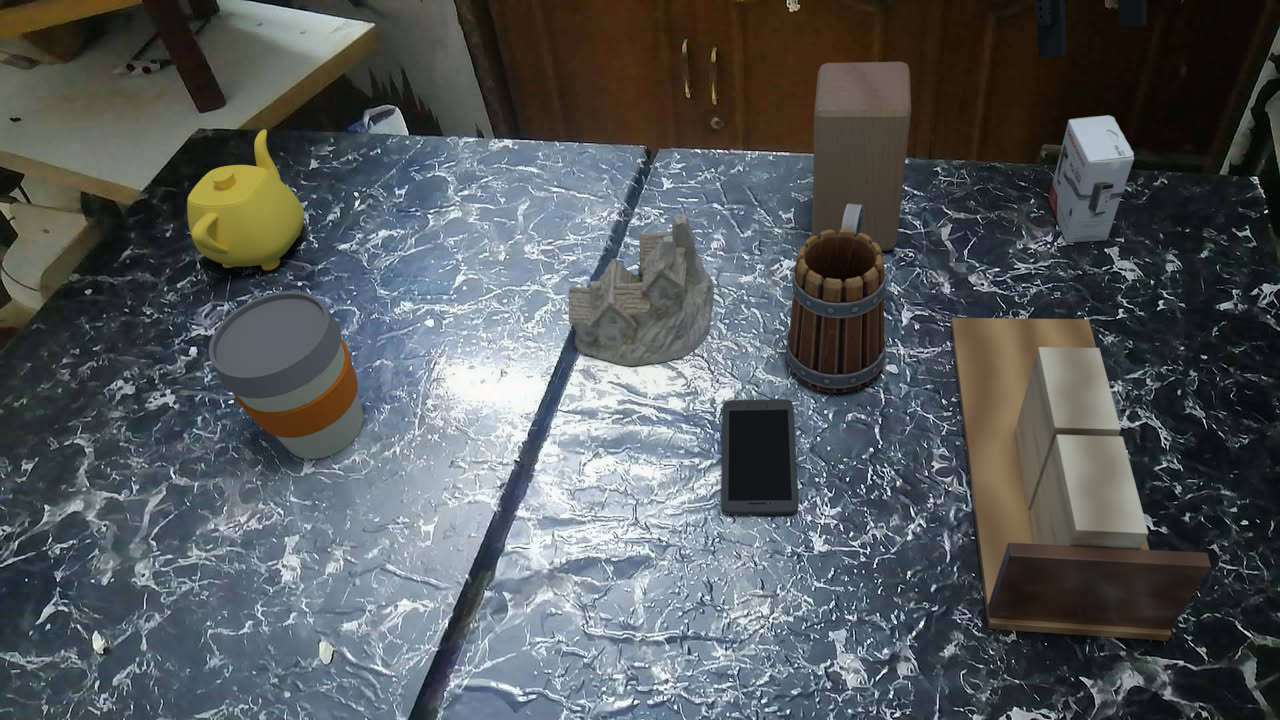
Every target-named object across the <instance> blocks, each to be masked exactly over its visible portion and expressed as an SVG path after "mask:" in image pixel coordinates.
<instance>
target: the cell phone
mask: <svg viewBox="0 0 1280 720" xmlns="http://www.w3.org/2000/svg"><path fill="white" fill-rule="evenodd" d="M721 420H722V422H721V423H722V425H721V427H722V429H721V490H720V491H721V497H720V499H721V510H722V512H723V513H724V514H725V515H726V514H727V515H732V516H733V515H734V516H736V515H737V516H739V515H740V516H741V515H742V516H748V515H757V516H758V515H760V516H761V515H792V514H795V513H797V512H798V509H799V484H798V468H797V467H798V465H797V448H796V447H797V446H796V445H797V444H796V428H795V427H796V426H795V409H794V404H793V401H792V400H791V399H786V398H785V399H784V398H778V399H777V398H773V399H772V398H771V399H769V398H768V399H733V400H726V401H724V403H723V405H722V419H721Z"/></svg>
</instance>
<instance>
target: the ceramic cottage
mask: <svg viewBox="0 0 1280 720" xmlns="http://www.w3.org/2000/svg"><path fill="white" fill-rule="evenodd" d="M671 229H672V230H670V231H660V232H639V233H638V236H637V238H638V241H639V245H638V246H639V247H638V248H639V260H638V262H639V266H638V269H637V272H638V273H636V274H634V273H632V272H631V271H630V270H628V268H626V267H625V266H624V265H623V264H621V263H620V262H619V261H618V259H617V258H611V259H610V262H608V264H607V266H606V267H605V269H604V272H603V273H602V274H601V275H600V277H599V279H597V280H591V281H590V282H589V285H588V287H584V286H577V285H576V286H575V285H571V286H570V287H569V288H568V294H567V295H568V296H567V297H568V323H569V325H572V326H573V328H574V331H575V335H574V347H575V348H576V350H577V351H578V352H579V353H581V354H583V355H587V356H588V357H591V356H592V357H593V358H596V359H597V360H604V361H607V362H611V363H612V364H616V365H617V366H618V365H619V366H622V365H623V366H629V367H632V366H633V367H634V366H645V365H650V364H654V365H656V364H660V363H665V362H670V360H671V361H673V360H677V359H680V358H681V359H682V358H685V357H686V356H687V355H689V354H691V353H692V352H693V351H695V349H697V348H698V347H699V346H700V345H701V343H702V342H703V341H705V340H706V338H707V337H708V335H709V332H710V329H711V316H712V311H713V305H714V297H715V295H714V294H715V291H714V290H715V289H714V288H715V287H714V284H713V280H712V278H711V275H710V273H709V272H708V271H707V269H706V268H705V267H704V262H703V259H702V258H701V256H700V255H699V253H698V252H697V249H696V241H695V234H694V232H693V230H692V229H691V225H690V222H689V218H688V215H686V214H683V213H679V214H675V216H674V217H672V226H671Z"/></svg>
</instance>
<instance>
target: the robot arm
mask: <svg viewBox="0 0 1280 720" xmlns="http://www.w3.org/2000/svg"><path fill="white" fill-rule="evenodd" d="M1033 4H1034V6H1033V7H1034V22H1035V25H1036V33H1037V52H1038V59H1045V58H1046V59H1047V58H1063V57H1066V56H1067V55H1068V53H1067V51H1068V50H1067V48H1068V47H1067V26H1066V25H1067V24H1066V0H1033ZM1146 25H1147V0H1117V28H1118V29H1121V28H1134V27H1143V26H1146Z"/></svg>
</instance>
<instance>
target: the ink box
mask: <svg viewBox="0 0 1280 720" xmlns="http://www.w3.org/2000/svg"><path fill="white" fill-rule="evenodd" d="M1134 154H1135V153H1134V151H1133V150H1132V147H1131V145H1130V144H1129V142H1128V141H1127V139H1126V137H1125V134H1124V133H1123V132H1122V130H1121V128H1120V126H1119V124H1118V122H1117V121H1116V118H1115V117H1114V116H1112V115H1110V114H1108V115H1098V116H1088V117H1087V116H1086V117H1077V118H1071V119H1068V121H1067V125H1066V129H1065V133H1064V137H1063V141H1062V145H1061V149H1060V152H1059V157H1058V161H1057V165H1056V169H1055V171H1054V176H1053V179H1052V183H1051V186H1050V191H1049V194H1048V198H1047V200H1048V204H1049V206H1050V208H1051V210H1052V212H1053V216H1054V217H1055V220H1056V221H1057V224H1058V227H1059V229H1060V232H1061V234H1062V237H1063V238H1064V240H1065V243H1067V244H1068V243H1085V242H1100V241H1104V242H1105V241H1107V240H1108V239H1109V236H1110V232H1111V230H1112V226H1113V224H1114V220H1115V218H1116V217H1115V216H1116V215H1117V211H1118V208H1119V204H1120V202H1121V199H1122V195H1123V193H1124V190H1125V187H1126V184H1127V181H1128V178H1129V175H1130V172H1131V169H1132V166H1133V163H1134V160H1135V156H1134Z"/></svg>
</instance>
